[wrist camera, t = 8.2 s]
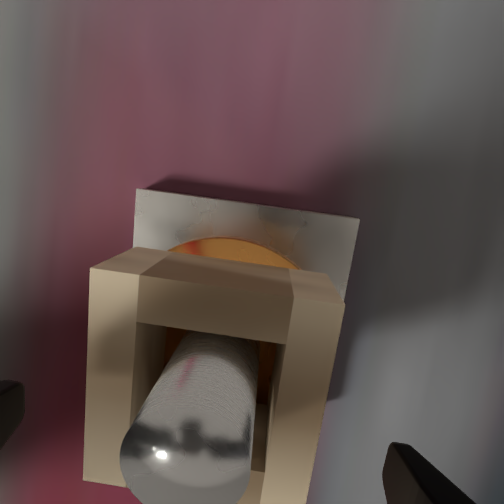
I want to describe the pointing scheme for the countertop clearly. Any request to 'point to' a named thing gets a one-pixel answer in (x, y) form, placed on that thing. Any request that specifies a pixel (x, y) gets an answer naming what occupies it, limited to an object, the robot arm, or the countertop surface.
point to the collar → (217, 322)
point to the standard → (218, 345)
